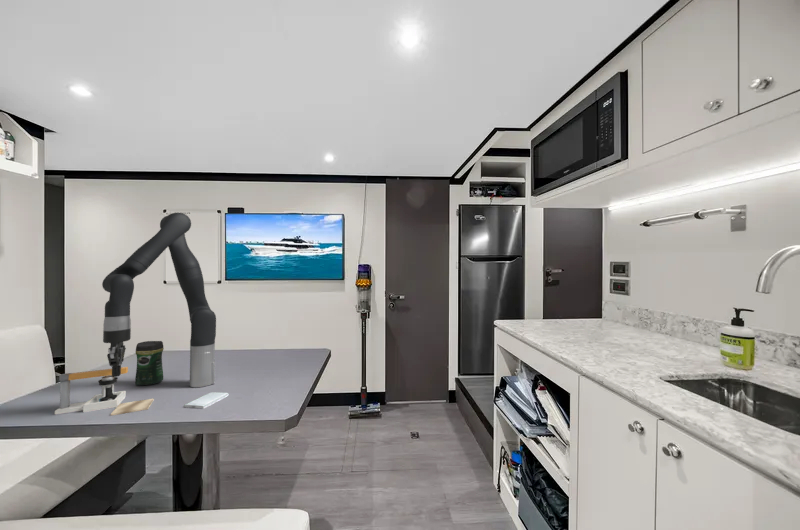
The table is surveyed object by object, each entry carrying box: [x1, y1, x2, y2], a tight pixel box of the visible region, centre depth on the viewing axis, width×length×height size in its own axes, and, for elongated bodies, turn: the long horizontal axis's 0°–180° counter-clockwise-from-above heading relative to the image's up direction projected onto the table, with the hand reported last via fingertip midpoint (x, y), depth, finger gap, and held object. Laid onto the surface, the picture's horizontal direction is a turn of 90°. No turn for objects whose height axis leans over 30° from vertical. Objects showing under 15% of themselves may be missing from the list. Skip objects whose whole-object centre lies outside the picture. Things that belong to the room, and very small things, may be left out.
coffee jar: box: [134, 340, 165, 386], centre depth 141 cm, size 10×8×19 cm
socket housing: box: [54, 380, 127, 415], centre depth 116 cm, size 17×11×10 cm, turn 118°
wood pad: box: [110, 398, 155, 416], centre depth 114 cm, size 10×10×1 cm
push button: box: [98, 375, 119, 402], centre depth 118 cm, size 7×5×10 cm
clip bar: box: [58, 366, 129, 382], centre depth 116 cm, size 18×3×2 cm, turn 118°
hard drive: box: [183, 391, 229, 410], centre depth 119 cm, size 2×8×12 cm
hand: (116, 376), depth 116 cm, fingers closed
